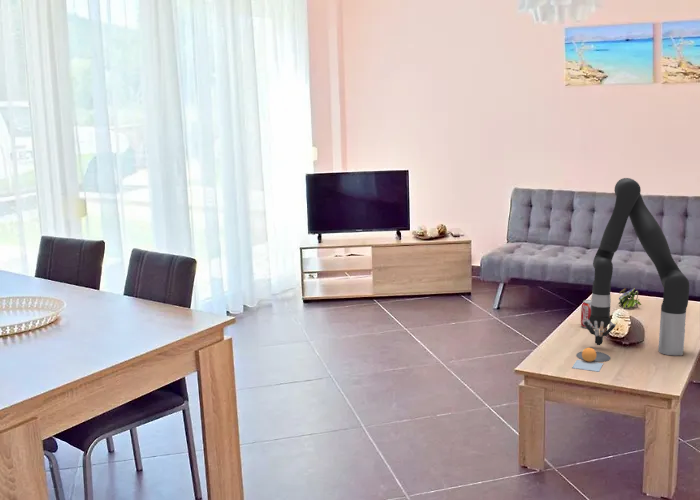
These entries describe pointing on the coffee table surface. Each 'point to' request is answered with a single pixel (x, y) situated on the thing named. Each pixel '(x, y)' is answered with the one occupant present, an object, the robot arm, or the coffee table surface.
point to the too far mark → (587, 365)
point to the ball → (589, 354)
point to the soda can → (586, 312)
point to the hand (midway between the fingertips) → (598, 344)
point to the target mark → (600, 357)
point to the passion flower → (631, 301)
